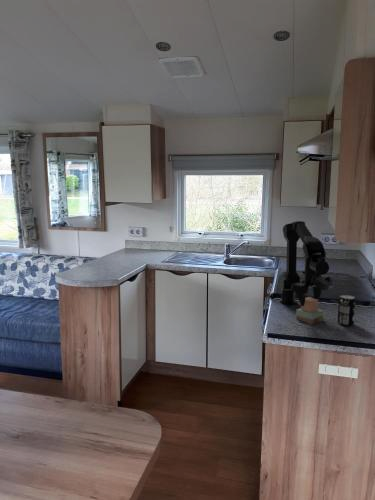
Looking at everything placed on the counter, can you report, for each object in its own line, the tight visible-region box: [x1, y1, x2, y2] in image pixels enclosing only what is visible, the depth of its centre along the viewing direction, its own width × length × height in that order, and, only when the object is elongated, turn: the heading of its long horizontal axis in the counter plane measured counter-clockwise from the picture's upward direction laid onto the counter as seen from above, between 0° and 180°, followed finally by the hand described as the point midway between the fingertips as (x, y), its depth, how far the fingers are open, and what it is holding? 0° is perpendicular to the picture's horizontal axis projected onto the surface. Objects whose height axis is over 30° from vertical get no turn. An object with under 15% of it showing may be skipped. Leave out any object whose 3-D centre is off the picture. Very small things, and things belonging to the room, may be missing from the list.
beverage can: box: [336, 294, 357, 327], centre depth 165 cm, size 7×7×12 cm
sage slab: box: [295, 307, 324, 320], centre depth 171 cm, size 8×8×2 cm
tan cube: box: [300, 296, 319, 313], centre depth 170 cm, size 5×5×5 cm
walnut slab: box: [295, 314, 324, 325], centre depth 171 cm, size 8×8×2 cm
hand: (309, 304), depth 170 cm, fingers open, 9 cm apart
